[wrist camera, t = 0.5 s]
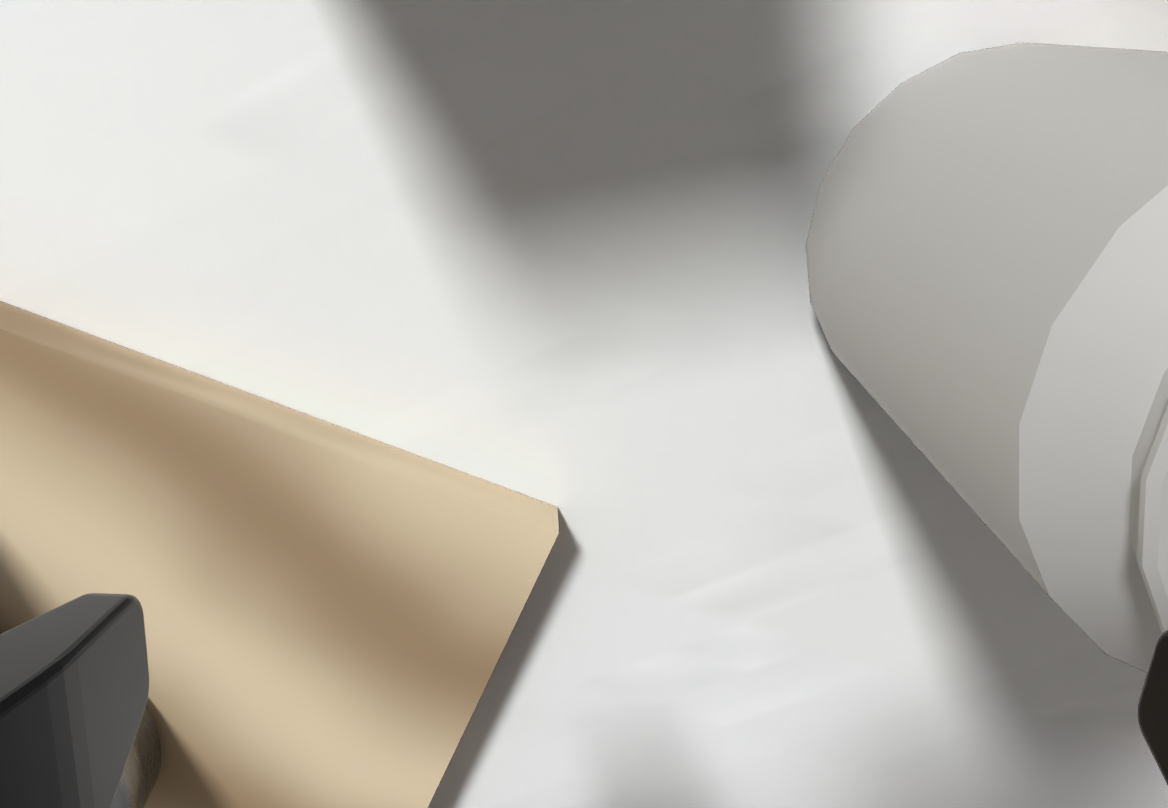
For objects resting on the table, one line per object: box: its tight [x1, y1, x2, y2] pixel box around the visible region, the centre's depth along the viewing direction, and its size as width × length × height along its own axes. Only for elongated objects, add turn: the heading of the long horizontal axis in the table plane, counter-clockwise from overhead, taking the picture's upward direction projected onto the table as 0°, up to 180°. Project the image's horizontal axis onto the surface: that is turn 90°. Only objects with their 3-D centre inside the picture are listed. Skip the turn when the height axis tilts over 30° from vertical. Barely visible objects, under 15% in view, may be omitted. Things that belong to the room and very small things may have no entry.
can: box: [806, 42, 1168, 673], centre depth 16 cm, size 8×8×12 cm
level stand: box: [0, 301, 559, 808], centre depth 21 cm, size 18×17×6 cm
